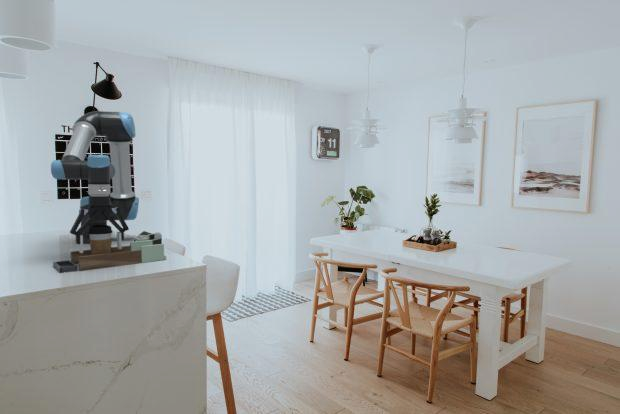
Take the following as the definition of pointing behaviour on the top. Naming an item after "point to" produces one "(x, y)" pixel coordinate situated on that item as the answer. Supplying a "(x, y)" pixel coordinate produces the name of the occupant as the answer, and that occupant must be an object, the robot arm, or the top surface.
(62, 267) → the tray
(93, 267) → the channel
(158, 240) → the camera
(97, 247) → the coffee cup
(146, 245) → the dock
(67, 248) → the top surface
